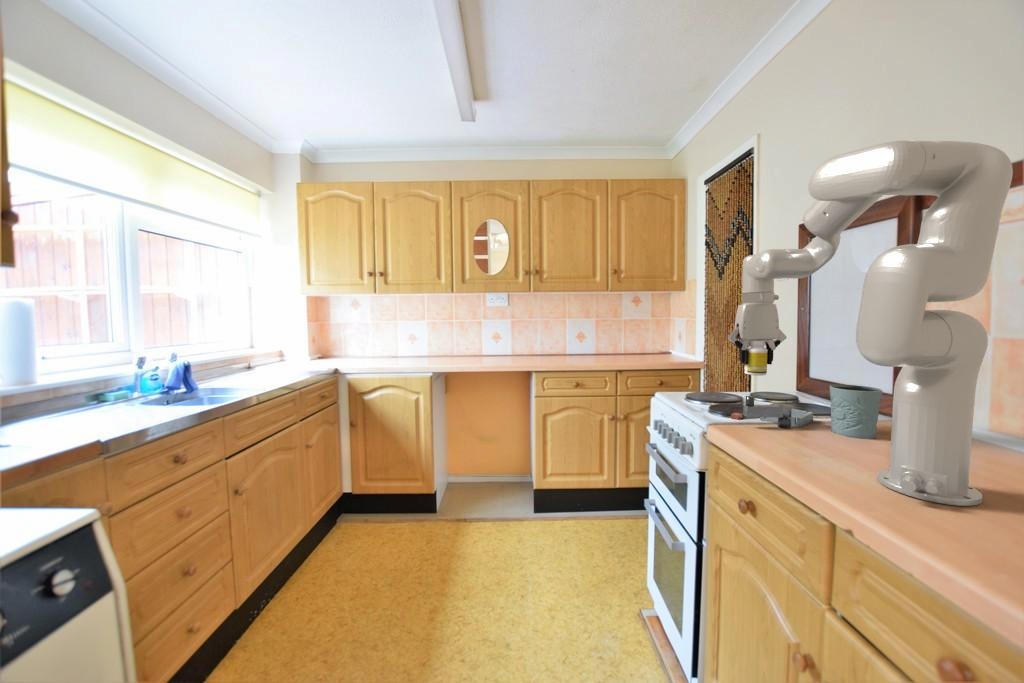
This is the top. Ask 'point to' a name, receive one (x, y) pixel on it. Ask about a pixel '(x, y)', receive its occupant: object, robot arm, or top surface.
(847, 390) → the embossed green planter pot
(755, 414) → the crank lever
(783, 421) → the crank post
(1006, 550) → the top surface
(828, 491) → the top surface
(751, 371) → the supplement bottle
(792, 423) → the tray
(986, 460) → the top surface
